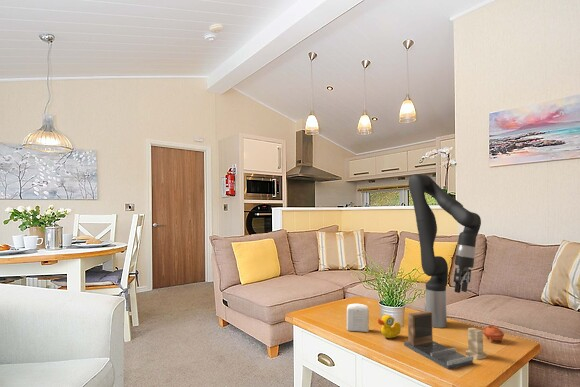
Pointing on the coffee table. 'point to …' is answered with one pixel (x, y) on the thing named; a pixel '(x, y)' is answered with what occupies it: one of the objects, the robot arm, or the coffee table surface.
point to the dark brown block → (420, 327)
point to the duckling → (389, 326)
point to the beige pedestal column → (475, 343)
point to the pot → (493, 333)
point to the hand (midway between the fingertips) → (460, 292)
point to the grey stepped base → (441, 354)
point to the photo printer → (357, 318)
